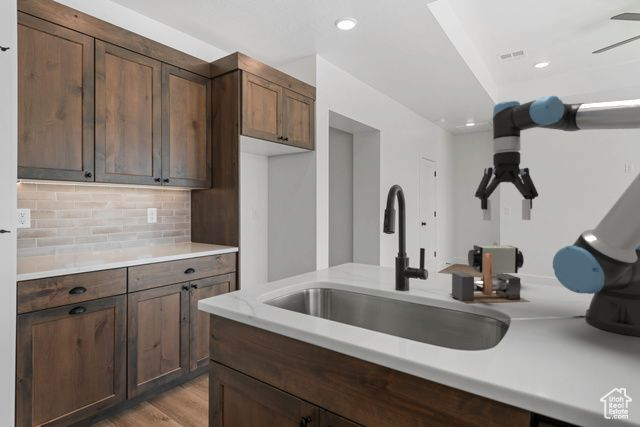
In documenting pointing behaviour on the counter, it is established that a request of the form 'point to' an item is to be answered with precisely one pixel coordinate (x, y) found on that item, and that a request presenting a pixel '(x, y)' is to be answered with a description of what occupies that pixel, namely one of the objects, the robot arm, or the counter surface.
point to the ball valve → (496, 258)
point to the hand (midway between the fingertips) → (506, 220)
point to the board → (491, 299)
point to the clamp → (509, 287)
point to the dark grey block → (463, 286)
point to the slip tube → (489, 278)
